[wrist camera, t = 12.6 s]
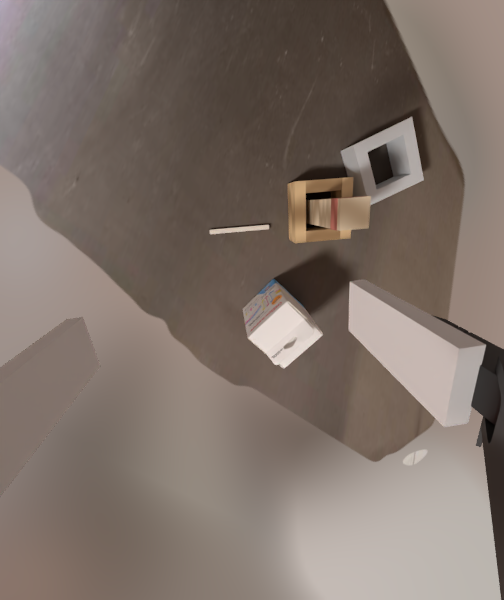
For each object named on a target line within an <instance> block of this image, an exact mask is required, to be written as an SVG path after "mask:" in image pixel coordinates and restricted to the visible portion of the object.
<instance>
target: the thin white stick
mask: <svg viewBox="0 0 504 600" xmlns="http://www.w3.org/2000/svg"><path fill="white" fill-rule="evenodd" d="M264 229H269V225H257V226H246V227H234V228H223V229H211V230H210V234H218V233H230V232H241V231H252V230H264Z"/></svg>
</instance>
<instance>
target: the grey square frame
mask: <svg viewBox="0 0 504 600" xmlns="http://www.w3.org/2000/svg"><path fill="white" fill-rule="evenodd" d="M385 143H386V145H387V150H388V154H389V159H390V163H391V168H392V172H393V177H392V178H390V179H388V180H386V181H383V182H381V183H379V184H377V185H375V181H374V177H373V173H372V169H371V165H370V161H369V157H368V153H367V152H369V151H371V150H373V149H375V148H377V147H379V146H381V145H383V144H385ZM341 155H342V158H343V162H344V165H345V169H346V172H347V176H348V177H353V197H357V196H371V202H370V205H372V204H374V203H376V202H378V201H380V200H382V199H385V198H387V197H389V196H391V195H393V194H395V193H397V192H399V191H402V190H404V189H406V188H408V187H410V186H412V185H414V184H416V183H419V182H421V181H423V180H424V178H423V173H422V167H421V162H420V157H419V151H418V146H417V140H416V135H415V129H414V124H413V119H412V117H410V118H408V119H406V120H404V121H402V122H400V123H398V124H395V125H393V126H391V127H389V128H387V129H385V130H383V131H381V132H379V133H377V134H375V135H373V136H371V137H369V138H367V139H364V140H362V141H360V142H358V143H356V144H354V145H352V146H350V147H348V148H346V149H344V150H342V151H341Z"/></svg>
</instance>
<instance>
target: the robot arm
mask: <svg viewBox="0 0 504 600" xmlns="http://www.w3.org/2000/svg"><path fill="white" fill-rule="evenodd" d="M349 331H350V332H351V333H352V334H353V335H354V336H355V337H356V338H357V339H358V340H359V341H360V342H361V343H362V344H363V345H364V346H365V347H366V348H367V349H368V350H369V351H370V352H371V353H372V354H373V355H374V356H375V357H376V358H377V359H378V360H379V361H380V362H381V364H382V365H383V366H384V367H385V368H386V369H387V370H388V371H389V372H390V373H391V374H392V375H393V376H394V377H395V378H396V379H397V380H398V381H399V382H400V383H401V384H402V385H403V386H404V387H405V388H406V389H407V390H408V391H409V392H410V393H411V394H412V395H413V396H414V397H415V398H416V399H417V400H418V401H419V402H420V403H421V404H422V405H423V406H424V407H425V408H426V409H427V410H428V411H429V412H430V413H431V414H432V415H433V416H434V417H435V418H436V419H437V420H438V421H439V422H440V423H441V424H442V425H443V426H444V427H448V426H454V425H460V424H466V423H468V421H469V417H470V412H471V408H472V407H473V408H474V409H475V410H477V411H478V412H479V413H480V414H481V415H483V420H482V423H481V428H480V431H479V435H478V439H477V444H476V446H479V447H481V445H482V442H483V449H484V457H485V466H486V474H487V482H488V490H489V499H490V507H491V515H492V524H493V533H494V541H495V550H496V558H497V566H498V575H499V583H500V592H501V600H504V349H502V348H500V347H497V346H495V345H494V344H492V343H490V342H488V341H486V340H484V339H482V338H480V337H479V336H477V335H475V334H473V333H469V332H468V331H467V330H465V329H463V328H461V327H458V326H457V325H455V324H453V323H452V322H450V321H448V320H446V319H442V318H439V317H436V316H432V315H430V314H428V313H426V312H424V311H422V310H421V309H419V308H417V307H415V306H413V305H411V304H409V303H407V302H406V301H404V300H402V299H400V298H398V297H396V296H394V295H393V294H391V293H389V292H387V291H385V290H383V289H381V288H380V287H378V286H376V285H374V284H372V283H370V282H368V281H367V280H365V279H363V280H356V281H350V290H349ZM99 367H100V363H99V360H98V358H97V355H96V352H95V349H94V347H93V344H92V341H91V339H90V335H89V333H88V330H87V327H86V325H85V322H84V319H83V317H81V318H73V319H66V320H65V321H64V322H63V323H61V324H59V325H58V326H57V327H55V328H54V329H53V330H51V331H50V332H49V333H47V334H46V335H44V336H43V337H42V338H40V339H39V340H37V341H36V342H35V343H33V344H32V345H31V346H29V347H28V348H27V349H25V350H24V351H22V352H21V353H20V354H18V355H17V356H15V357H14V358H13V359H11V360H10V361H9V362H7V363H6V364H5V365H3V366H2V367H0V497H1V495H2V494H3V493H4V491H5V490H6V489H7V487H8V486H9V485H10V483H11V482H12V481H13V480H14V478H15V477H16V476H17V474H18V473H19V472H20V470H21V469H22V468H23V467H24V465H25V464H26V462H27V461H28V460H29V459H30V457H31V456H32V455H33V454H34V452H35V451H36V450H37V448H38V447H39V446H40V444H41V443H42V441H44V439H45V438H46V437H47V435H48V434H49V433H50V431H51V430H52V429H53V428H54V426H55V425H56V424H57V422H58V421H59V419H60V418H61V417H62V416H63V414H64V413H65V412H66V410H67V409H68V408H69V407H70V405H71V404H72V403H73V401H74V400H75V399H76V398H77V396H78V395H79V393H80V392H81V391H82V390H83V388H84V387H85V386H86V384H87V383H88V382H89V381H90V379H91V378H92V377H93V375H94V374H95V372H96V371H97V370H98V369H99Z"/></svg>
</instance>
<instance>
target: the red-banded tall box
mask: <svg viewBox="0 0 504 600" xmlns="http://www.w3.org/2000/svg"><path fill="white" fill-rule="evenodd" d="M370 202H371V196H357V197H345V198H329V199H316V200H306V223H307V224H312V225H316V226H321V227H325V228H329V229H332V230H336V231H342V230H353V229H365V228H369V216H370Z"/></svg>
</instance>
